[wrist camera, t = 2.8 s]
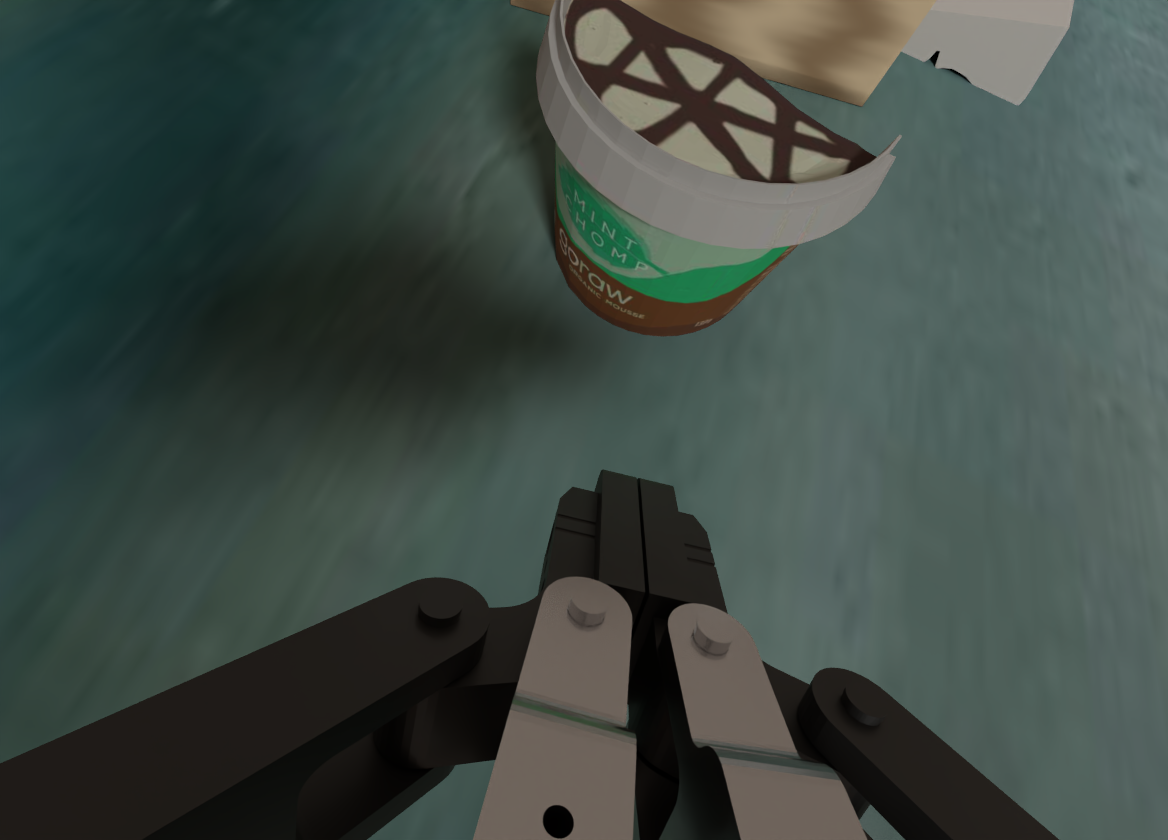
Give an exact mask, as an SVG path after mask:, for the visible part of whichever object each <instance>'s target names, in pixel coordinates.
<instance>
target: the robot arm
mask: <svg viewBox="0 0 1168 840" xmlns="http://www.w3.org/2000/svg"><path fill="white" fill-rule="evenodd" d="M714 565H715V562H714V559H713V555H712V553H711V547H710V543H709V539H708V535H707V532H706V531H705V529H704V528H703V527H702V526H701V524H700V523H699V522H698V521H697V519H696V518H695V517H694V516H693V515H690V514H686V513H682V512H678V507H677V502H676V497H675V491H674V487H673V486H670V485H666V484H661V483H657V482H653V481H649V480H645V479H641V478H638V479H637V478H636V477H632V476H628V475H623V474H619V473H615V472H611V471H607V470H601V472H600V475H599V478H598V481H597V485H596V488H595V491H594V492H592V491H588V490H584V489H580V488H576V487H572V488H571V489H570V490H569V491H567V492H566V493H565V494H564V495H563V496H562V497H561V498H560V501H559V505H558V509H557V512H556V516H555V520H554V524H553V528H552V531H551V535H550V539H549V543H548V546H547V550H546V554H545V558H544V563H543V569H542V574H541V580H540V585H539V592H538V596H536V597H535V598H534V599H532V600H530V601H528V602H526V603H524V604H521V605H517V606H512V607H501V608H489V607H488V604H487V602H486V601H485V599H484V597H483V596H482V595H481V594H480V593H479V592H478V591H477V590H475V589H474V588H473V587H471V586H469V585H467V584H465V583H463V582H460V581H457V580H453V579H448V578H425V579H421V580H417V581H414V582H411V583H409V584H406V585H404V586H402V587H400V588H397V589H395V590H393V591H391V592H388V593H386V594H384V595H382V596H379V597H377V598H375V599H372V600H370V601H368V602H366V603H363V604H361V605H359V606H357V607H354V608H352V609H350V610H348V611H345V612H343V613H341V614H338V615H336V616H334V617H332V618H329V619H327V620H325V621H323V622H320V623H318V624H316V625H314V626H311V627H309V628H307V629H304V630H302V631H300V632H298V633H295V634H293V635H291V636H289V637H286V638H284V639H282V640H280V641H277V642H275V643H273V644H270V645H268V646H266V647H264V648H261V649H259V650H257V651H255V652H252V653H250V654H248V655H245V656H243V657H241V658H239V659H236V660H234V661H232V662H230V663H227V664H225V665H223V666H221V667H218V668H216V669H214V670H211V671H209V672H207V673H205V674H202V675H200V676H198V677H196V678H193V679H191V680H189V681H187V682H184V683H182V684H180V685H177V686H175V687H173V688H171V689H168V690H166V691H164V692H162V693H159V694H157V695H155V696H153V697H150V698H148V699H146V700H143V701H141V702H139V703H137V704H134V705H132V706H130V707H128V708H125V709H123V710H121V711H119V712H116V713H114V714H112V715H109V716H107V717H105V718H103V719H100V720H98V721H96V722H94V723H91V724H89V725H87V726H84V727H82V728H80V729H78V730H75V731H73V732H71V733H69V734H66V735H64V736H62V737H60V738H57V739H55V740H53V741H50V742H48V743H46V744H44V745H41V746H39V747H37V748H35V749H32V750H30V751H28V752H26V753H23V754H21V755H19V756H16V757H14V758H12V759H10V760H7V761H5V762H3V763H1V764H0V840H367V839H368V838H369V837H371V836H372V835H373V834H375V833H376V832H377V831H378V830H380V829H381V828H382V827H384V826H385V825H386V824H387V823H389V822H390V821H391V820H393V819H394V818H395V817H396V816H398V815H399V814H400V813H402V812H403V811H404V810H405V809H407V808H408V807H409V806H411V805H412V804H413V803H414V802H416V801H417V800H418V799H420V798H421V797H422V796H423V795H425V794H426V793H427V792H428V791H430V790H431V789H432V788H434V787H435V786H436V785H437V784H439V783H440V782H441V781H443V780H444V779H445V778H446V777H447V776H448V775H449V774H450V772H451V771H452V770H453V768H454V766H455V765H458V764H466V763H474V762H482V761H489V760H496V761H495V764H494V768H493V771H492V775H491V778H490V782H489V785H488V789H487V793H486V796H485V800H484V803H483V807H482V810H481V814H480V817H479V821H478V824H477V828H476V831H475V835H474V838H473V840H873V839H872V838H871V837H870V836H869V835H868V834H867V833H866V832H865V831H864V830H863V829H862V826H861V824H860V822H859V820H860V818H861V817H862V815H863V814H864V813H865V811H866V810H867V808H868V807H869V805H870V804H871V805H872V806H873V807H874V808H875V809H876V810H877V811H878V812H879V813H880V814H881V815H882V816H883V817H884V818H885V819H886V820H887V821H888V822H889V823H890V824H891V825H892V826H893V828H894V829H895V830H896V831H897V832H898V833H899V834H900V835H901V836H902V837H903V838H904V839H905V840H1059V839H1058V838H1057V837H1055V836H1054V835H1053V834H1052V833H1051V832H1050V831H1048V830H1047V829H1046V828H1045V827H1044V826H1043V825H1041V824H1040V823H1039V822H1038V821H1037V820H1035V819H1034V818H1033V817H1032V816H1031V815H1030V814H1028V813H1027V812H1026V811H1025V810H1024V809H1023V808H1021V807H1020V806H1019V805H1018V804H1017V803H1016V802H1014V801H1013V800H1012V799H1011V798H1010V797H1008V796H1007V795H1006V794H1005V793H1004V792H1003V791H1001V790H1000V789H999V788H998V787H997V786H996V785H994V784H993V783H992V782H991V781H990V780H989V779H987V778H986V777H985V776H984V775H983V774H981V773H980V772H979V771H978V770H977V769H976V768H974V767H973V766H972V765H971V764H970V763H969V762H967V761H966V760H965V759H964V758H963V757H962V756H960V755H959V754H958V753H957V752H956V751H954V750H953V749H952V748H951V747H950V746H949V745H947V744H946V743H945V742H944V741H943V740H942V739H940V738H939V737H938V736H937V735H936V734H935V733H933V732H932V731H931V730H930V729H929V728H927V727H926V726H925V725H924V724H923V723H922V722H920V721H919V720H918V719H917V718H916V717H915V716H913V715H912V714H911V713H910V712H909V711H908V710H906V709H905V708H904V707H903V706H902V705H900V704H899V703H898V702H897V701H896V700H895V699H893V698H892V697H891V696H890V695H889V694H888V693H886V692H885V691H884V690H883V689H881V688H880V687H879V686H878V685H876V684H875V683H873V682H872V681H870V680H869V679H867V678H865V677H863V676H861V675H859V674H857V673H854V672H852V671H849V670H845V669H840V668H826V669H823V670H820V671H819V672H818V673H816V675H815V676H814V678H813V680H812V681H811V683H810V685H809V684H807V683H805V682H803V681H801V680H799V679H797V678H795V677H793V676H790V675H788V674H786V673H784V672H782V671H780V670H778V669H776V668H774V667H772V666H770V665H768V664H767V663H765V662H764V661H762V660H761V658H760V655H759V652H758V650H757V647H756V645H755V642H754V640H753V638H752V637H751V635H750V634H749V632H748V631H747V630H746V629H745V628H744V626H743V625H742V624H740V623H739V622H738V621H737V620H736V619H734V618H733V617H732V616H730V615H729V614H728V613H727V609H726V606H725V602H724V598H723V594H722V590H721V586H720V582H719V578H718V574H717V570H716V567H714ZM627 704H628V705H629V720H628V723H627V725H626V712H627Z"/></svg>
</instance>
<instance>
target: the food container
mask: <svg viewBox="0 0 1168 840" xmlns="http://www.w3.org/2000/svg"><path fill="white" fill-rule="evenodd" d="M536 81H537V91H538V99H539V102H540V106H541V109H542V112H543V115H544V118H545V122H546V124H547V126H548V128H549V130H550V131H551V133H552V135H553V137H554V139H555V245H556V259H557V262H558V264H559V266H560V269H561V271H562V273H563V275H564V277H565V280H566V282H567V284H568V286H569V288H570V289H571V290H572V291H573V292H574V294H575V295H576V296H577V297H578V298H579V299H580V300H581V302H582V303H583V304H584V305H585V306H586V307H587V308H589V309H590V310H591V311H592V312H594V313H595V314H596V315H597V316H599V317H601V318H602V319H604V320H606V321H608V322H609V323H611V324H613V325H615V326H618V327H620V328H623V329H625V330H628V331H631V332H635V333H639V334H644V335H652V336H678V335H683V334H688V333H693V332H696V331H699V330H701V329H704V328H707V327H709V326H710V325H712V324H714V323H716V322H717V321H719V320H721V319H722V318H723V317H724V316H725V315H727V314H728V313H729V312H730V311H731V310H732V309H733V308H734V307H735V306H736V305H738V304H739V303H740V302H741V301H742V300H743V299H744V298H745V297H746V296H747V295H748V294H749V293H750V292H751V291H752V290H753V289H754V288H755V287H756V286H757V285H758V284H759V283H760V282H761V281H762V280H763V279H764V278H765V277H766V276H767V275H768V274H769V273H770V272H771V271H772V270H773V269H774V268H775V267H776V266H777V265H778V264H779V263H780V262H781V261H782V260H783V259H784V258H785V257H786V256H787V255H788V254H789V253H791V252H792V251H793V250H794V249H795V248H796V247H797V246H798V245H799V244H801V243H804V242H807V241H810V240H813V239H816V238H819V237H822V236H825V235H827V234H829V233H830V232H832V231H834V230H836V229H838V228H840V227H841V226H843V225H845V224H847V223H848V222H849V221H850V220H851V219H853V218H854V217H855V216H856V215H857V214H859V213H860V212H861V211H862V210H863V209H864V208H865V207H866V205H867V204H868V203H869V202H870V200H871V199H872V198H873V197H874V195H875V194H876V192H877V190H878V188H879V187H880V185H881V183H882V181H883V179H884V178H885V176H886V174H887V172H888V170H889V169H890V167H891V165H892V163H893V161H894V159H895V158H896V157H894V156H892V155H890V154H889V153H890V152H891V150H892V149H893V148H894V146H895V145H896V144H897V142H898V141H899V140H900V138H901V137H902V136H901V135H899V136H898V137H897V138H896V139H895V140H894V141H893V142H892V143H891V144H890V145H889V146H888V147H887V148H886V149H885V150H884V151H883V152H882V153H881V154H880V155H879V156H878V157H876V156H874V155H872V154H870V153H869V152H867V151H865V150H864V149H863V148H861V147H860V146H859V145H858V144H856V143H854V142H852V141H850V140H848V139H845V138H843V137H841V136H839V135H837V134H835V133H834V132H832V131H830V130H829V129H827V128H826V127H824V126H823V125H821V124H820V123H818V122H817V121H815V120H814V119H812V118H811V117H809V116H808V115H806V114H805V113H803V112H802V111H800V110H799V109H797V108H796V107H795V106H794V105H793V104H791V103H790V102H789V101H788V100H787V99H786V98H784V97H783V96H782V95H781V94H780V93H779V92H778V91H776V90H775V89H774V88H773V87H772V86H771V85H769V84H768V83H767V82H766V81H765V80H764V79H762V78H761V77H760V76H759V75H758V74H756V73H755V72H754V71H753V70H751V69H750V68H749V67H748V66H746V65H745V64H744V63H743V62H741V61H740V60H739V59H737V58H736V57H734V56H732V55H730V54H728V53H726V52H724V51H722V50H720V49H718V48H716V47H714V46H712V45H710V44H707V43H705V42H702V41H700V40H697V39H695V38H692V37H690V36H687V35H685V34H682V33H680V32H677V31H675V30H673V29H671V28H669V27H667V26H665V25H663V24H661V23H658V22H656V21H654V20H652V19H651V18H649V17H647V16H646V15H644V14H642V13H641V12H639V11H638V10H636V9H634V8H633V7H631V6H629V5H628V4H626V3H624V2H623V1H621V0H555V2H554V5H553V8H552V10H551V13H550V17H549V20H548V23H547V27H546V30H545V33H544V37H543V40H542V43H541V47H540V50H539V53H538V61H537V71H536Z"/></svg>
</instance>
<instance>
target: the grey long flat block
mask: <svg viewBox="0 0 1168 840" xmlns="http://www.w3.org/2000/svg"><path fill="white" fill-rule="evenodd" d="M1073 3H1074V0H936V2H935V3H934V5H933V6H932V8H931V9H930V10H929V12H928V13H927V15H926V16H925V18H924V19H923V20H922V22H921V23H920V25H919V26H918V28H917V29H916V30H915V32H914V33H913V35H912V36H911V37H910V39H909V40H908V42H907V43H906V45H905V46H904V47H903V49H902V50H901V51H902V52H904V53H906V54H908V55H910V56H912V57H914V58H917V59H919V60H921V61H923V62H925V61H927V60H928V59H930V58H931V57H932V55H933V54H934V53H935V52H936V51H940V53H939V56H938V59H937V62H936V65H935V67H936V68H948V69H954V70H956V71H957V72H959V73H960V74H962V75H964V76H965V77H966V78H967V79H968V80H969V81H970V82H971V84H973V85H975V86H977V87H979V88H981V89H983V90H985V91H988V92H990V93H992V94H994V95H996V96H998V97H1000V98H1003V99H1005V100H1007V101H1009V102H1011V103H1013V104H1016V105H1019V104H1021V103H1022V101H1023V100H1024V99H1025V98H1026V97H1027V95H1028V93H1029V92H1030V90H1031V89H1032V87H1033V85H1034V84H1035V82H1036V80H1037V79H1038V77H1039V76H1040V74H1041V72H1042V71H1043V69H1044V67H1045V66H1046V64H1047V63H1048V61H1049V59H1050V58H1051V56H1052V54H1053V53H1054V51H1055V50H1056V48H1057V46H1058V45H1059V43H1060V42H1061V40H1062V38H1063V37H1064V35H1065V33H1066V32H1067V30H1068V29H1069V25H1070V20H1071V14H1072V8H1073Z"/></svg>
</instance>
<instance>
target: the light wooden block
mask: <svg viewBox="0 0 1168 840" xmlns="http://www.w3.org/2000/svg"><path fill="white" fill-rule="evenodd" d="M621 1H623V2H624V3H626V4H628V5H629V6H631V7H633V8H634V9H636V10H638V11H639V12H641V13H642V14H644V15H646V16H647V17H649V18H651V19H652V20H654V21H656V22H658V23H661V24H663V25H665V26H667V27H669V28H671V29H673V30H675V31H677V32H680V33H682V34H685V35H687V36H690V37H692V38H695V39H697V40H700V41H702V42H705V43H707V44H710V45H712V46H714V47H716V48H718V49H720V50H722V51H724V52H726V53H728V54H730V55H732V56H734V57H736V58H737V59H739V60H740V61H741V62H743V63H744V64H745V65H746V66H748V67H749V68H750V69H751V70H753V71H754V72H755V73H756V74H758V75H759V76H760V77H762V78H765V79H769V80H772V81H775V82H779V83H782V84H786V85H789V86H793V87H796V88H799V89H803V90H806V91H810V92H813V93H817V94H820V95H824V96H827V97H830V98H834V99H837V100H841V101H844V102H848V103H851V104H854V105H858V106H861V107H862V106H863V105H864V103H865V102H866V100H867V99H868V97H869V96H870V95H871V93H872V92H873V90H874V89H875V87H876V86H877V85H878V83H879V82H880V80H881V79H882V77H883V76H884V75H885V73H886V72H887V70H888V69H889V67H890V66H891V65H892V63H893V62H894V60H895V59H896V57H897V56H898V55H899V53H900V52H901V50H902V49H903V47H904V46H905V45H906V43H907V42H908V40H909V39H910V37H911V36H912V35H913V33H914V32H915V30H916V29H917V28H918V26H919V25H920V23H921V22H922V20H923V19H924V18H925V16H926V15H927V13H928V12H929V10H930V9H931V8H932V6H933V5H934V3H935V2H936V0H621ZM554 2H555V0H511V5H514V6H518V7H521V8H525V9H528V10H531V11H535V12H538V13H542V14H545V15H549V16H550V13H551V10H552V8H553V5H554Z"/></svg>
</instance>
